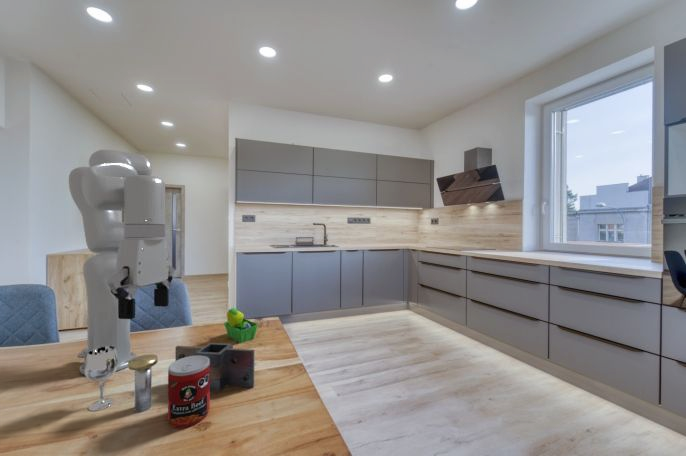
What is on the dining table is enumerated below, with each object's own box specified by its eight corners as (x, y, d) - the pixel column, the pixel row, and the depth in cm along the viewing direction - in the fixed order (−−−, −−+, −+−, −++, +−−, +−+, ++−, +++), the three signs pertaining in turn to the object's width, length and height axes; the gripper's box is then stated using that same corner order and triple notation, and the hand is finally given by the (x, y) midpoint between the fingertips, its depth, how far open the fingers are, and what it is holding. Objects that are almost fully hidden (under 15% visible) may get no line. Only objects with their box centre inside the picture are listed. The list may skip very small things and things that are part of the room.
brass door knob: (122, 414, 62) (122, 364, 62) (141, 400, 67) (141, 353, 67) (144, 416, 61) (144, 365, 61) (162, 401, 66) (162, 355, 66)
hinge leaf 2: (194, 390, 71) (194, 353, 71) (209, 377, 78) (209, 342, 78) (247, 394, 70) (248, 356, 70) (258, 380, 76) (258, 345, 76)
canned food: (165, 433, 56) (165, 375, 56) (170, 409, 64) (171, 358, 64) (209, 422, 59) (209, 368, 59) (209, 401, 67) (210, 352, 67)
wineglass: (90, 416, 61) (90, 358, 61) (80, 407, 64) (80, 352, 64) (122, 402, 66) (122, 348, 66) (111, 394, 69) (111, 343, 69)
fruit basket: (259, 339, 104) (259, 306, 104) (236, 346, 98) (236, 312, 98) (242, 331, 112) (242, 301, 112) (219, 337, 105) (219, 306, 105)
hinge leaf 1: (232, 378, 77) (232, 343, 77) (219, 392, 70) (219, 354, 70) (184, 375, 78) (184, 341, 78) (167, 388, 72) (167, 351, 72)
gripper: (158, 232, 73) (158, 301, 73) (91, 233, 56) (91, 324, 56) (186, 232, 73) (186, 302, 73) (128, 233, 55) (128, 325, 55)
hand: (145, 311), depth 64 cm, fingers open, 9 cm apart
